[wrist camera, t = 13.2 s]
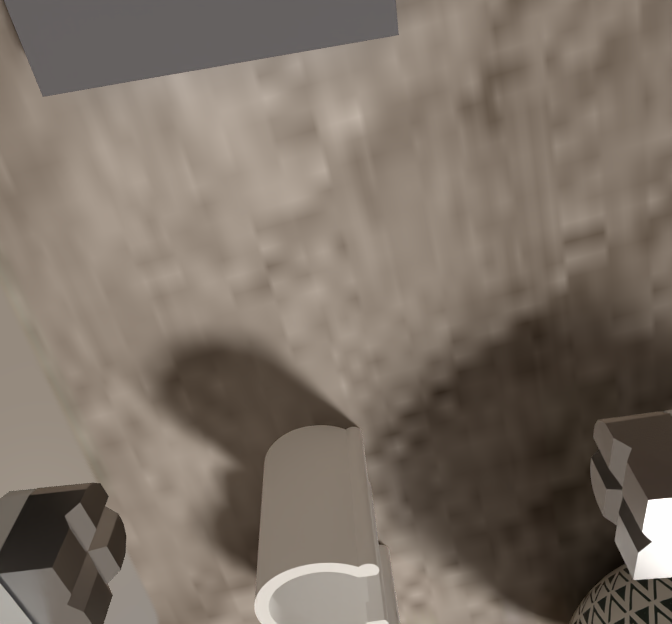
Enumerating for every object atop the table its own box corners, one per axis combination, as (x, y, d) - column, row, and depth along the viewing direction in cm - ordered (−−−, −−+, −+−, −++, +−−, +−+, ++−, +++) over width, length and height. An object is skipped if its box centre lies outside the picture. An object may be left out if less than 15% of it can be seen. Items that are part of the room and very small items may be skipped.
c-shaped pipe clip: (245, 433, 46) (228, 575, 36) (369, 416, 46) (388, 554, 36) (301, 614, 60) (301, 754, 50) (398, 602, 59) (417, 741, 49)
